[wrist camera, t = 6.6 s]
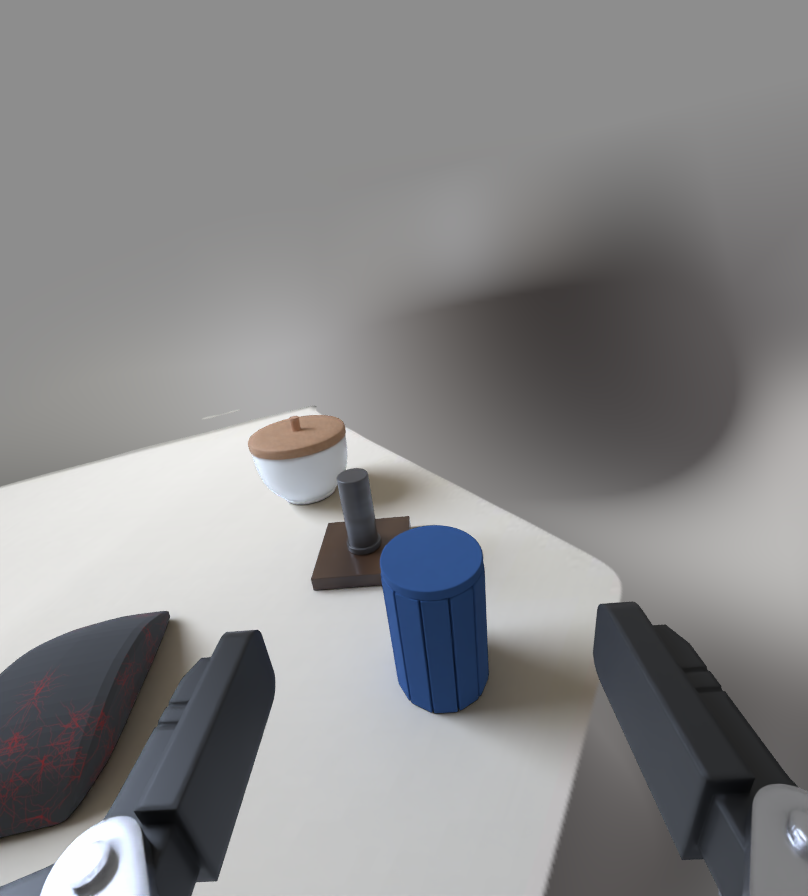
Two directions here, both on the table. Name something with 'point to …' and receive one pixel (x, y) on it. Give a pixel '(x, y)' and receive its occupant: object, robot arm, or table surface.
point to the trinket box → (301, 456)
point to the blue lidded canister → (437, 616)
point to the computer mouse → (68, 715)
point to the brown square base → (355, 538)
